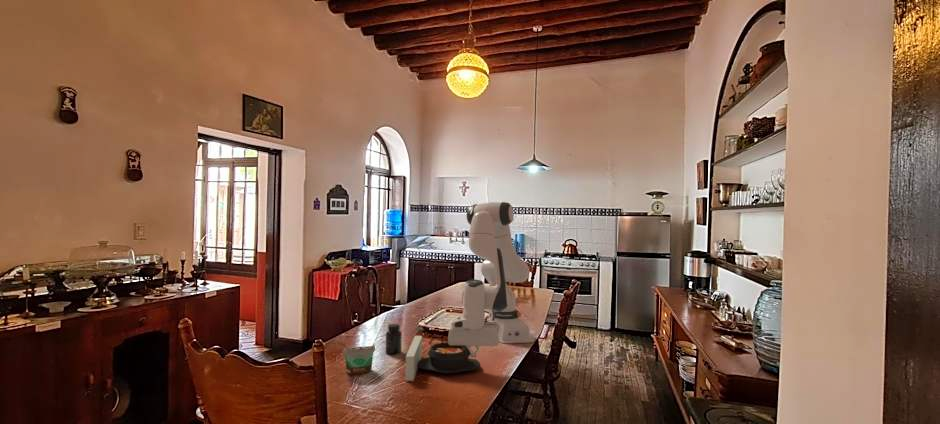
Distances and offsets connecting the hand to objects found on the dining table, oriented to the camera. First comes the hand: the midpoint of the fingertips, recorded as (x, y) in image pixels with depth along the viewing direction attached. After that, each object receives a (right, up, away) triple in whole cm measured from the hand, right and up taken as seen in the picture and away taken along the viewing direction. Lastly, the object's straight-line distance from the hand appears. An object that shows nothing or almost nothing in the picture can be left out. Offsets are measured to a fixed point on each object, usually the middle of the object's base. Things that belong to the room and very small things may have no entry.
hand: (472, 356), depth 174 cm
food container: (-43, -5, -7) cm, 44 cm away
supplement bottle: (-35, -5, +18) cm, 40 cm away
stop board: (-23, -5, 0) cm, 24 cm away
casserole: (-10, -5, 0) cm, 11 cm away
